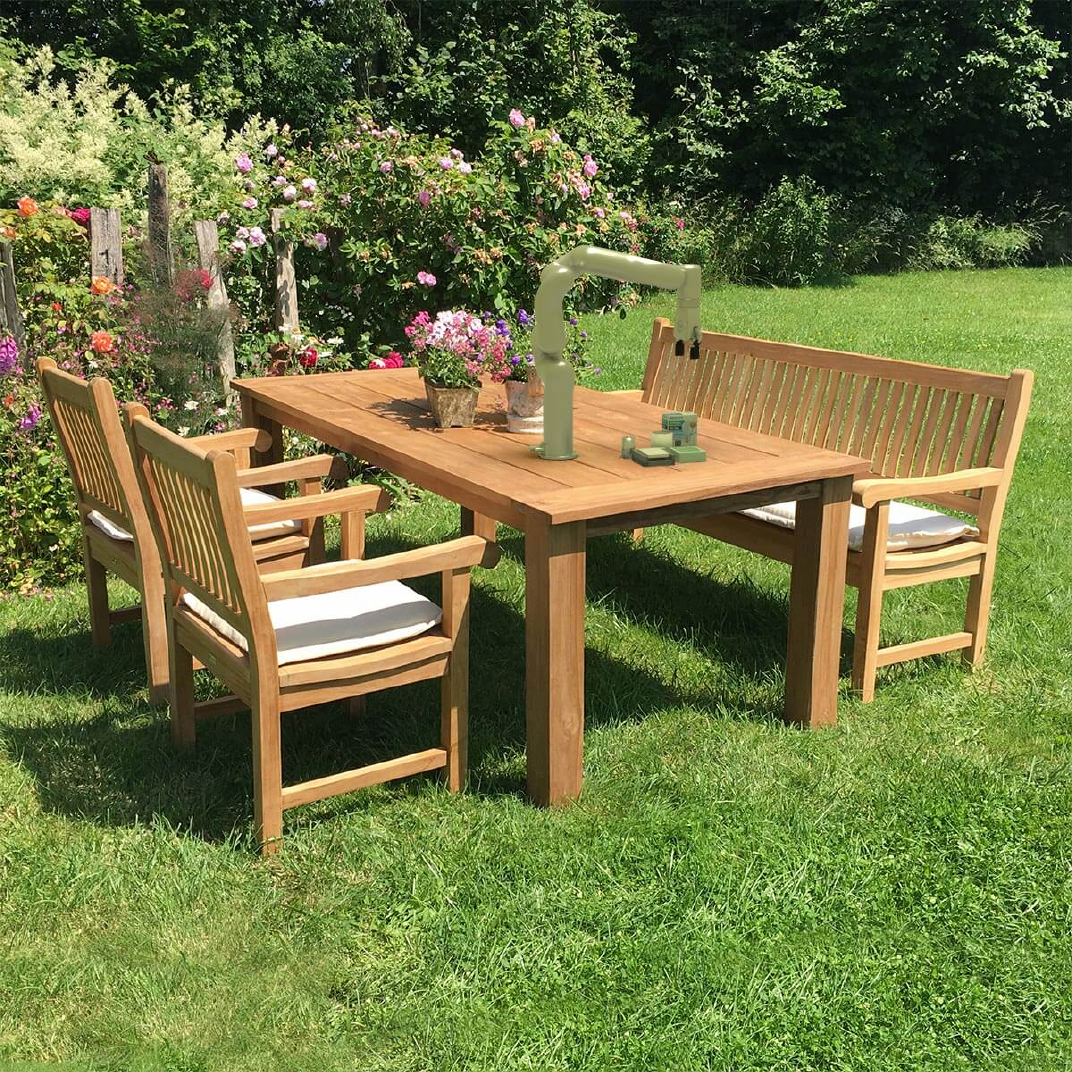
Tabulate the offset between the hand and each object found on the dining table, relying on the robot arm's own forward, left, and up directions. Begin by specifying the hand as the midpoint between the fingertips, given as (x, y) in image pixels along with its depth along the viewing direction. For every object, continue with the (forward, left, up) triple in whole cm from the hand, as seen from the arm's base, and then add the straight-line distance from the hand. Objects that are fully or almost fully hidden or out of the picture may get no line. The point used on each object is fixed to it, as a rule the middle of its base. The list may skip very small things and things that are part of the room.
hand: (687, 357), depth 388 cm
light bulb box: (+1, +7, -30) cm, 31 cm away
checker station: (-17, -16, -30) cm, 38 cm away
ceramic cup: (-10, -5, -30) cm, 32 cm away
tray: (-5, -15, -30) cm, 34 cm away
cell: (-22, -7, -30) cm, 38 cm away
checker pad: (-17, -16, -28) cm, 36 cm away
